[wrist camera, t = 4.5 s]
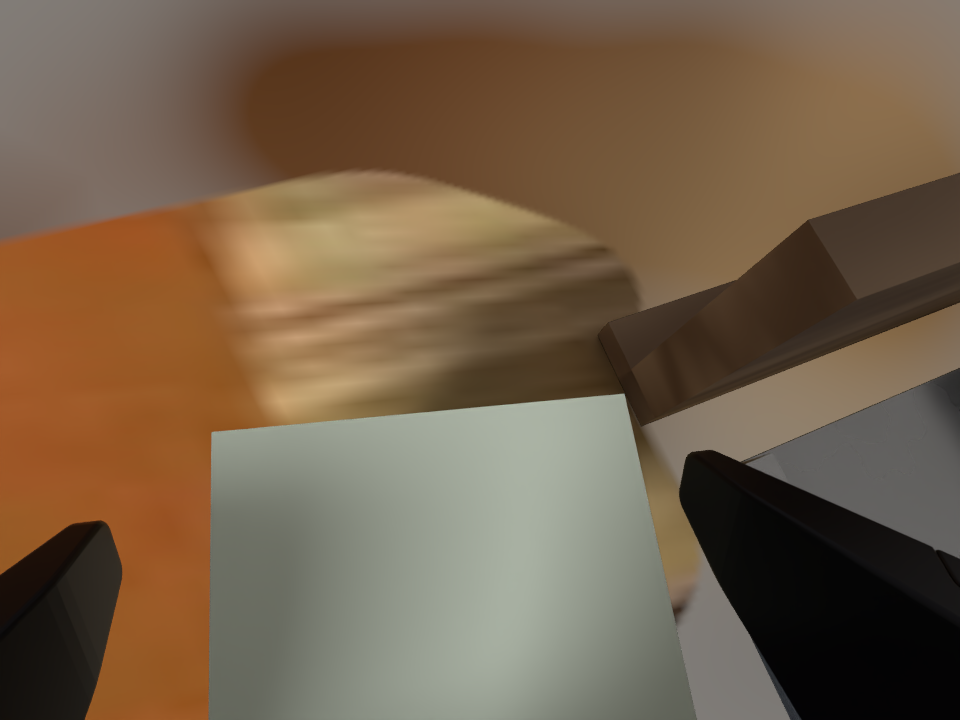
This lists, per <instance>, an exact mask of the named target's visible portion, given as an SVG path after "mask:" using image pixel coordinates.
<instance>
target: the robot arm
mask: <svg viewBox="0 0 960 720" xmlns="http://www.w3.org/2000/svg"><path fill="white" fill-rule="evenodd" d="M679 497H680V502H681V505H682V508H683V510H684V512H685V514H686V516H687V518H688V521H689V523H690V525H691V527H692V529H693V531H694V533H695V535H696V537H697V539H698V542H699V544H700V546H701V548H702V550H703V552H704V554H705V556H706V558H707V561H708V563H709V564H710V567H711V569H712V571H713V573H714V575H715V577H716V579H717V581H718V583H719V584H720V586H721V588H722V590H723V591H724V593H725V595H726V596H727V598H728V599H729V602H730V603H731V605H732V607H733V608H734V610H735V611H736V613H737V615H738V616H739V618H740V620H741V621H742V623H743V625H744V626H745V628H746V629H747V631H748V633H749V634H750V636H751V638H752V639H753V641H754V643H755V644H756V646H757V648H758V649H759V651H760V653H761V654H762V656H763V658H764V659H765V661H766V662H767V664H768V666H769V667H770V669H771V671H772V672H773V674H774V676H775V677H776V679H777V681H778V682H779V684H780V686H781V687H782V689H783V690H784V692H785V694H786V695H787V697H788V699H789V700H790V702H791V704H792V705H793V707H794V709H795V710H796V712H797V713H798V715H799V717H800V718H801V720H960V559H959V558H957V557H955V556H953V555H950V554H948V553H946V552H944V551H941V550H935V549H934V548H933V547H932V546H930V545H928V544H925V543H923V542H921V541H918V540H916V539H914V538H912V537H909V536H907V535H905V534H902V533H900V532H898V531H896V530H893V529H891V528H889V527H887V526H884V525H882V524H880V523H877V522H875V521H873V520H871V519H868V518H866V517H864V516H862V515H859V514H857V513H855V512H852V511H850V510H848V509H846V508H843V507H841V506H839V505H837V504H834V503H832V502H830V501H827V500H825V499H823V498H821V497H818V496H816V495H814V494H812V493H809V492H807V491H805V490H803V489H800V488H798V487H796V486H793V485H791V484H789V483H787V482H784V481H782V480H780V479H778V478H775V477H773V476H771V475H768V474H766V473H764V472H762V471H759V470H757V469H755V468H753V467H750V466H748V465H746V464H743V463H741V462H739V461H737V460H734V459H732V458H730V457H728V456H725V455H723V454H721V453H718V452H716V451H713V450H705V451H696V452H691V453H690V454H688V456H687V457H686V460H685V464H684V469H683V475H682V480H681V485H680V490H679ZM121 580H122V565H121V561H120V558H119V555H118V552H117V549H116V546H115V543H114V540H113V537H112V534H111V531H110V528H109V526H108V525H107V523H105V522H103V521H91V522H82V523H75V524H72V525H70V526H68V527H66V528H65V529H64V530H62V531H61V532H59V533H58V534H57V535H55V536H54V537H52V538H51V539H50V540H48V541H47V542H45V543H44V544H43V545H41V546H40V547H38V548H37V549H36V550H34V551H33V552H31V553H30V554H29V555H27V556H26V557H24V558H23V559H22V560H20V561H19V562H18V563H16V564H15V565H13V566H12V567H11V568H9V569H8V570H6V571H5V572H4V573H2V574H1V575H0V720H85V717H86V714H87V711H88V708H89V706H90V703H91V700H92V697H93V694H94V691H95V688H96V685H97V681H98V677H99V673H100V670H101V666H102V661H103V657H104V653H105V649H106V644H107V640H108V636H109V632H110V627H111V623H112V619H113V615H114V610H115V606H116V602H117V598H118V593H119V589H120V585H121Z"/></svg>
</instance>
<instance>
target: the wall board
mask: <svg viewBox="0 0 960 720" xmlns="http://www.w3.org/2000/svg"><path fill="white" fill-rule="evenodd" d="M959 302H960V173H958V174H955V175H952V176H948V177H945V178H942V179H939V180H935V181H932V182H929V183H926V184H923V185H920V186H916V187H913V188H910V189H906V190H903V191H900V192H897V193H894V194H891V195H887V196H884V197H881V198H877V199H874V200H871V201H868V202H865V203H861V204H858V205H855V206H852V207H848V208H845V209H842V210H839V211H836V212H832V213H829V214H826V215H823V216H820V217H816V218H813V219H810V220H807V221H806V222H805V223H804V224H803V225H802V226H800V227H799V228H798V229H797V230H796V231H794V232H793V233H792V234H791V235H790V236H789V237H787V238H786V239H785V240H784V241H783V242H782V243H780V244H779V245H778V246H777V247H775V248H774V249H773V250H772V251H771V252H770V253H768V254H767V255H766V256H765V257H764V258H763V259H761V260H760V261H759V262H758V263H757V264H755V265H754V266H753V267H752V268H751V269H749V270H748V271H747V272H746V273H745V274H743V275H742V276H741V277H740V278H739V279H738V280H735V281H732V282H729V283H726V284H723V285H720V286H717V287H714V288H711V289H708V290H705V291H702V292H699V293H696V294H693V295H690V296H687V297H684V298H681V299H678V300H675V301H672V302H669V303H666V304H663V305H660V306H657V307H654V308H650V309H647V310H644V311H641V312H638V313H635V314H632V315H629V316H626V317H623V318H620V319H617V320H614V321H611V322H608V323H607V325H606V326H605V327H604V328H603V329H602V330H601V331H600V333H599V334H598V337H599V339H600V341H601V343H602V345H603V347H604V349H605V351H606V354H607V356H608V358H609V360H610V362H611V364H612V366H613V368H614V370H615V372H616V374H617V377H618V379H619V381H620V383H621V385H622V387H623V389H624V391H625V393H626V395H627V398H628V400H629V402H630V404H631V406H632V408H633V410H634V412H635V414H636V416H637V418H638V421H639V423H640V425H641V426H644V425H646V424H649V423H651V422H654V421H656V420H659V419H662V418H664V417H666V416H669V415H672V414H674V413H677V412H679V411H682V410H685V409H687V408H690V407H692V406H694V405H697V404H700V403H703V402H705V401H708V400H710V399H713V398H715V397H718V396H721V395H723V394H725V393H728V392H731V391H733V390H736V389H739V388H741V387H744V386H746V385H749V384H751V383H754V382H757V381H759V380H762V379H764V378H767V377H769V376H772V375H774V374H777V373H780V372H782V371H785V370H787V369H790V368H793V367H795V366H798V365H800V364H803V363H805V362H808V361H811V360H813V359H816V358H818V357H821V356H823V355H826V354H828V353H831V352H834V351H836V350H839V349H841V348H844V347H846V346H849V345H852V344H854V343H857V342H859V341H862V340H864V339H867V338H869V337H872V336H875V335H877V334H880V333H882V332H885V331H888V330H890V329H893V328H895V327H898V326H900V325H903V324H905V323H908V322H911V321H913V320H916V319H918V318H921V317H924V316H926V315H929V314H931V313H934V312H936V311H939V310H942V309H944V308H947V307H949V306H952V305H954V304H957V303H959Z"/></svg>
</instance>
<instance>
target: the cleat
mask: <svg viewBox="0 0 960 720" xmlns="http://www.w3.org/2000/svg"><path fill="white" fill-rule="evenodd" d="M741 463H743V464H746V465H748V466H750V467H753V468H755V469H757V470H759V471H762V472H764V473H766V474H768V475H771V476H773V477H775V478H778V479H780V480H782V481H784V482H787V483H789V484H791V485H793V486H796V487H798V488H800V489H803V490H805V491H807V492H809V493H812V494H814V495H816V496H818V497H821V498H823V499H825V500H827V501H830V502H832V503H834V504H837V505H839V506H841V507H843V508H846V509H848V510H850V511H852V512H855V513H857V514H859V515H862V516H864V517H866V518H868V519H871V520H873V521H875V522H877V523H880V524H882V525H884V526H887V527H889V528H891V529H893V530H896V531H898V532H900V533H902V534H905V535H907V536H909V537H912V538H914V539H916V540H918V541H921V542H923V543H925V544H928V545H930V546H932V547H933V548H934V549H935V550H941V551H944V552H946V553H948V554H950V555H953V556H955V557H957V558H959V559H960V368H958V369H956V370H954V371H951V372H949V373H947V374H945V375H942V376H940V377H938V378H935V379H933V380H930V381H928V382H926V383H924V384H921V385H919V386H917V387H914V388H912V389H909V390H907V391H905V392H902V393H900V394H898V395H896V396H893V397H891V398H889V399H886V400H884V401H882V402H879V403H877V404H874V405H872V406H870V407H868V408H865V409H863V410H861V411H858V412H856V413H854V414H851V415H849V416H847V417H844V418H842V419H839V420H837V421H835V422H833V423H830V424H828V425H826V426H823V427H821V428H819V429H816V430H814V431H812V432H809V433H807V434H805V435H802V436H800V437H798V438H795V439H793V440H791V441H788V442H786V443H784V444H781V445H779V446H777V447H774V448H772V449H770V450H767V451H765V452H763V453H760V454H758V455H756V456H753V457H751V458H749V459H746V460H744V461H742V462H741ZM679 489H680V488H679ZM752 640H753V639H752ZM753 643H754V641H753ZM754 644H755V643H754ZM755 647H756V649H757V651H758V653H759V655H760V657H761V659H762V661H763V663H764V665H765V668H766V670H767V672H768V674H769V676H770V678H771V680H772V682H773V684H774V686H775V688H776V690H777V693H778V694H779V697H780V698H781V701H782V703H783V705H784V707H785V709H786V711H787V713H788V715H789V717H790V720H801V718H800V717H799V715H798V713H797V712H796V710H795V709H794V707H793V705H792V704H791V702H790V700H789V699H788V697H787V695H786V694H785V692H784V690H783V689H782V687H781V686H780V684H779V682H778V681H777V679H776V677H775V676H774V674H773V672H772V671H771V669H770V667H769V666H768V664H767V662H766V661H765V659H764V658H763V656H762V654H761V653H760V651H759V649H758V648H757V646H756V644H755Z"/></svg>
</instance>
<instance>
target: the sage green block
mask: <svg viewBox="0 0 960 720" xmlns="http://www.w3.org/2000/svg"><path fill="white" fill-rule="evenodd" d="M209 720H697V718H696V714H695V709H694V705H693V700H692V696H691V691H690V687H689V682H688V678H687V673H686V669H685V664H684V660H683V655H682V651H681V646H680V642H679V637H678V633H677V628H676V624H675V619H674V615H673V610H672V606H671V601H670V597H669V592H668V588H667V583H666V579H665V574H664V570H663V565H662V561H661V556H660V552H659V547H658V543H657V538H656V534H655V529H654V525H653V520H652V516H651V511H650V507H649V502H648V498H647V493H646V488H645V484H644V479H643V475H642V470H641V466H640V461H639V457H638V452H637V448H636V443H635V439H634V434H633V430H632V425H631V421H630V416H629V412H628V407H627V403H626V398H625V394H615V395H604V396H594V397H583V398H572V399H562V400H551V401H540V402H530V403H519V404H508V405H498V406H487V407H476V408H466V409H455V410H444V411H434V412H423V413H412V414H402V415H391V416H380V417H370V418H359V419H348V420H338V421H327V422H316V423H306V424H295V425H284V426H274V427H263V428H252V429H242V430H231V431H220V432H212V448H211V545H210V642H209Z"/></svg>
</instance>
